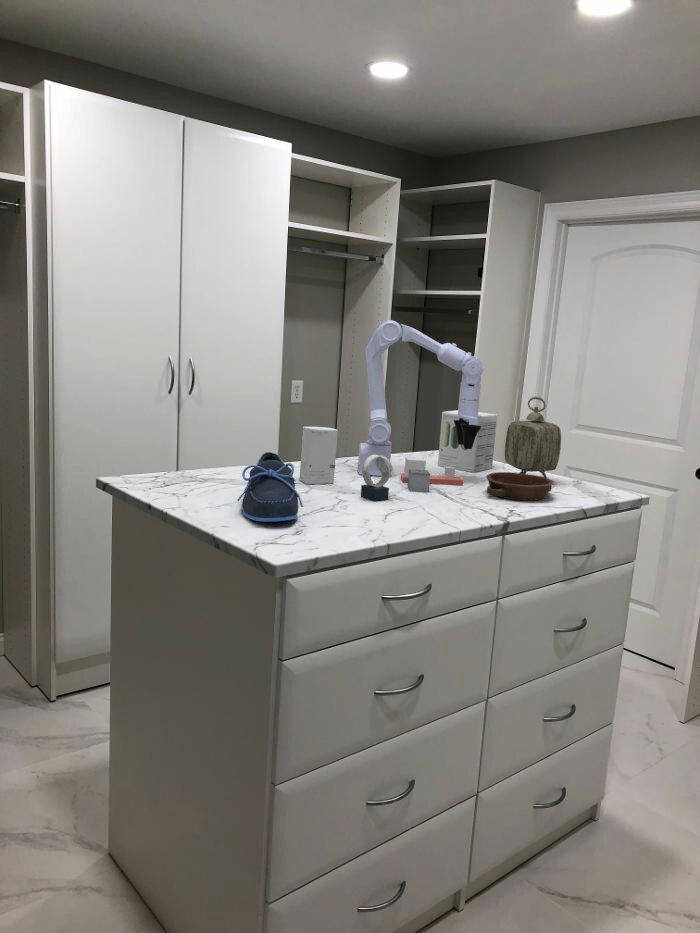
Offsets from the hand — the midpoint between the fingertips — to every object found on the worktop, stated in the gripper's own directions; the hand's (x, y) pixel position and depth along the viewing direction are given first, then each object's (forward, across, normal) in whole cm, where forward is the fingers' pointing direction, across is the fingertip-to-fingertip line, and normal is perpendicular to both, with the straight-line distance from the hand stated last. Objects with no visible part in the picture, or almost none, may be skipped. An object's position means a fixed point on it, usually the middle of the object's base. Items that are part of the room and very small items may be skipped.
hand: (464, 446), depth 219 cm
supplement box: (+10, +22, -6) cm, 25 cm away
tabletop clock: (+10, +4, -21) cm, 23 cm away
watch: (+10, -29, +29) cm, 42 cm away
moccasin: (+10, -44, +54) cm, 70 cm away
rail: (+10, -5, +10) cm, 15 cm away
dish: (+10, -17, -12) cm, 23 cm away
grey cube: (+10, -16, +16) cm, 24 cm away
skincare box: (+10, -12, +42) cm, 45 cm away
